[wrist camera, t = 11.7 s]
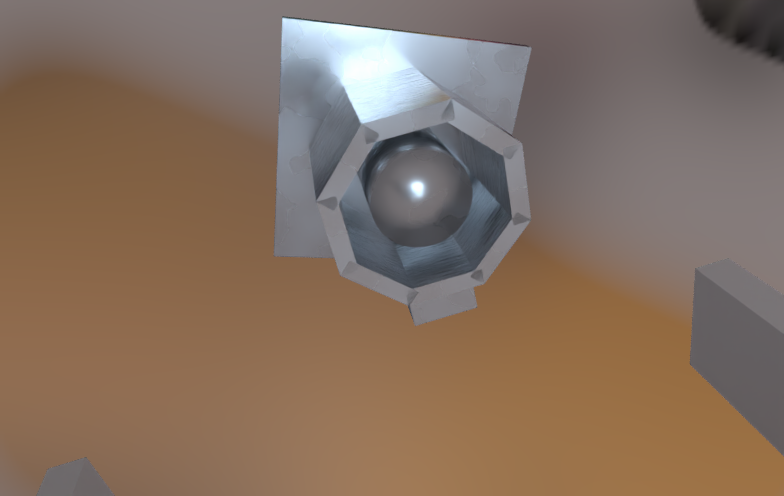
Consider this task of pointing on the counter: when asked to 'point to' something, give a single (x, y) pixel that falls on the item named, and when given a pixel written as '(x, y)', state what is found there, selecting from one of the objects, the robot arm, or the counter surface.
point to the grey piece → (357, 228)
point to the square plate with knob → (393, 155)
